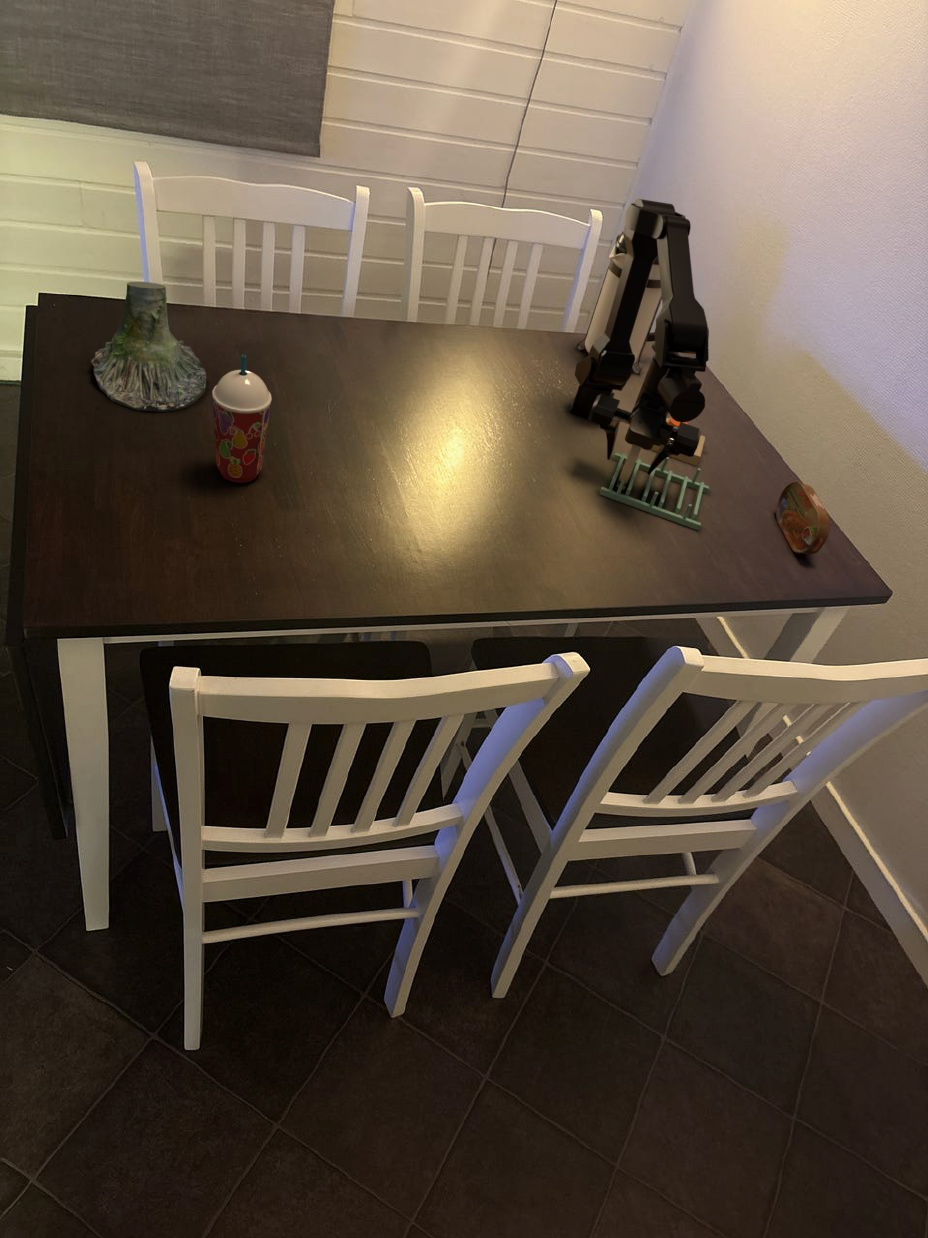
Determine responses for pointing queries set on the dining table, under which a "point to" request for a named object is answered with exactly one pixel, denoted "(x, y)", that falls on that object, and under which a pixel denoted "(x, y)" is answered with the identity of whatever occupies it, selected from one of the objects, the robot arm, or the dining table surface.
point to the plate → (628, 465)
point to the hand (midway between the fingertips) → (628, 465)
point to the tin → (802, 518)
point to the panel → (685, 458)
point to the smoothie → (240, 423)
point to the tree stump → (148, 357)
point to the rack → (649, 507)
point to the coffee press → (606, 299)
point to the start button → (675, 422)
